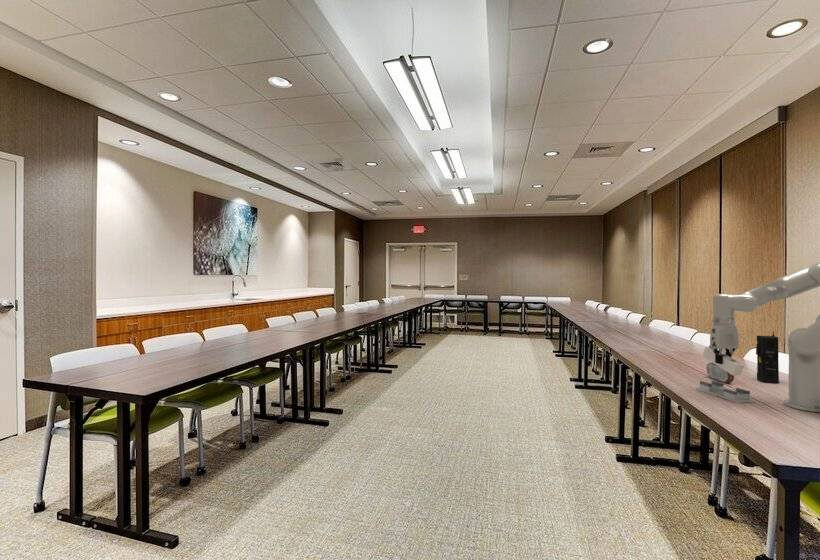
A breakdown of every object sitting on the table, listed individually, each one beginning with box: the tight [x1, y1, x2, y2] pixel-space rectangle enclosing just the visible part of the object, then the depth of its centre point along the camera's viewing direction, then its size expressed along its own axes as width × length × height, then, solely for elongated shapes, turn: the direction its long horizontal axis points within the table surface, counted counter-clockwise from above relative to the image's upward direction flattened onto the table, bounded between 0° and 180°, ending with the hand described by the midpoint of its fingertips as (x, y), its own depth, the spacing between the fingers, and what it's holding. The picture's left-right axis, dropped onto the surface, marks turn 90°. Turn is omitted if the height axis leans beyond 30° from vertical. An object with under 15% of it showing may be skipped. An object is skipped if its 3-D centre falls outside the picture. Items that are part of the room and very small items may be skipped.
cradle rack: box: [695, 380, 755, 404], centre depth 172 cm, size 20×8×4 cm, turn 7°
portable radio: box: [755, 330, 780, 384], centre depth 194 cm, size 8×6×25 cm
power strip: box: [702, 346, 745, 377], centre depth 173 cm, size 16×4×5 cm, turn 7°
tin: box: [706, 362, 735, 384], centre depth 196 cm, size 15×3×8 cm, turn 179°
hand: (723, 362), depth 172 cm, fingers closed on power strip, 3 cm apart
